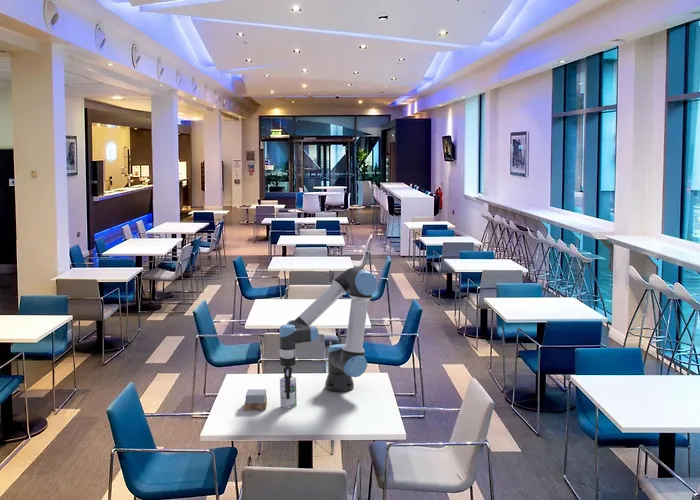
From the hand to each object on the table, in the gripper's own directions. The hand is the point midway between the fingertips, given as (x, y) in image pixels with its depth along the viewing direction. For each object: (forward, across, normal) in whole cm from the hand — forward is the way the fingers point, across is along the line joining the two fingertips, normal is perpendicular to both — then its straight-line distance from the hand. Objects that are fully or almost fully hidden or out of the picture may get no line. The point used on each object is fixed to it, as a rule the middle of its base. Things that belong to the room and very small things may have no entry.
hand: (288, 401), depth 366 cm
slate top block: (-1, 0, -16) cm, 16 cm away
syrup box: (+2, 0, 0) cm, 2 cm away
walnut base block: (+3, 0, -16) cm, 16 cm away
